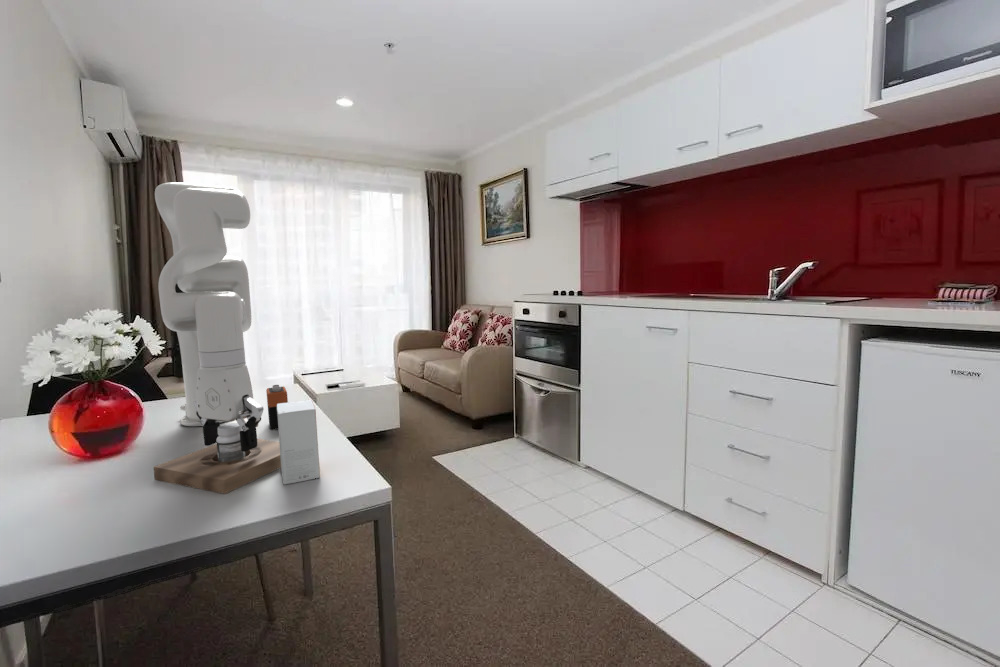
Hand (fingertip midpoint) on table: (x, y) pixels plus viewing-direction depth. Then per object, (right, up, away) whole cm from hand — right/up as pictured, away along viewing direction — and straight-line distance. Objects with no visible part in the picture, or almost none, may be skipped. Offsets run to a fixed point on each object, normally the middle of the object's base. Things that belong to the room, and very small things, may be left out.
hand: (231, 446), depth 94 cm
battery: (-3, -1, +27) cm, 28 cm away
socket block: (0, -4, 0) cm, 4 cm away
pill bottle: (0, -5, +1) cm, 5 cm away
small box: (+15, -5, -3) cm, 16 cm away
